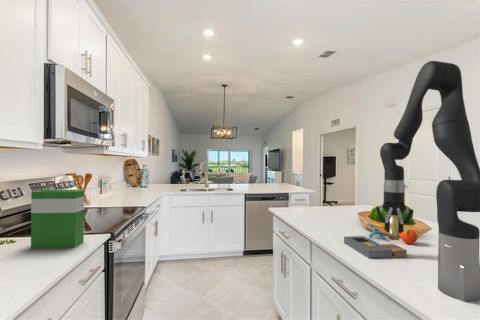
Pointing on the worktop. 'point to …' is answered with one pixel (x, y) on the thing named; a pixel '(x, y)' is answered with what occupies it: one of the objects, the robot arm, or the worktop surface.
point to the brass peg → (393, 227)
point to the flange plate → (368, 247)
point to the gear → (375, 232)
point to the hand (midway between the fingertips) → (393, 232)
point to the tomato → (408, 236)
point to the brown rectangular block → (396, 250)
